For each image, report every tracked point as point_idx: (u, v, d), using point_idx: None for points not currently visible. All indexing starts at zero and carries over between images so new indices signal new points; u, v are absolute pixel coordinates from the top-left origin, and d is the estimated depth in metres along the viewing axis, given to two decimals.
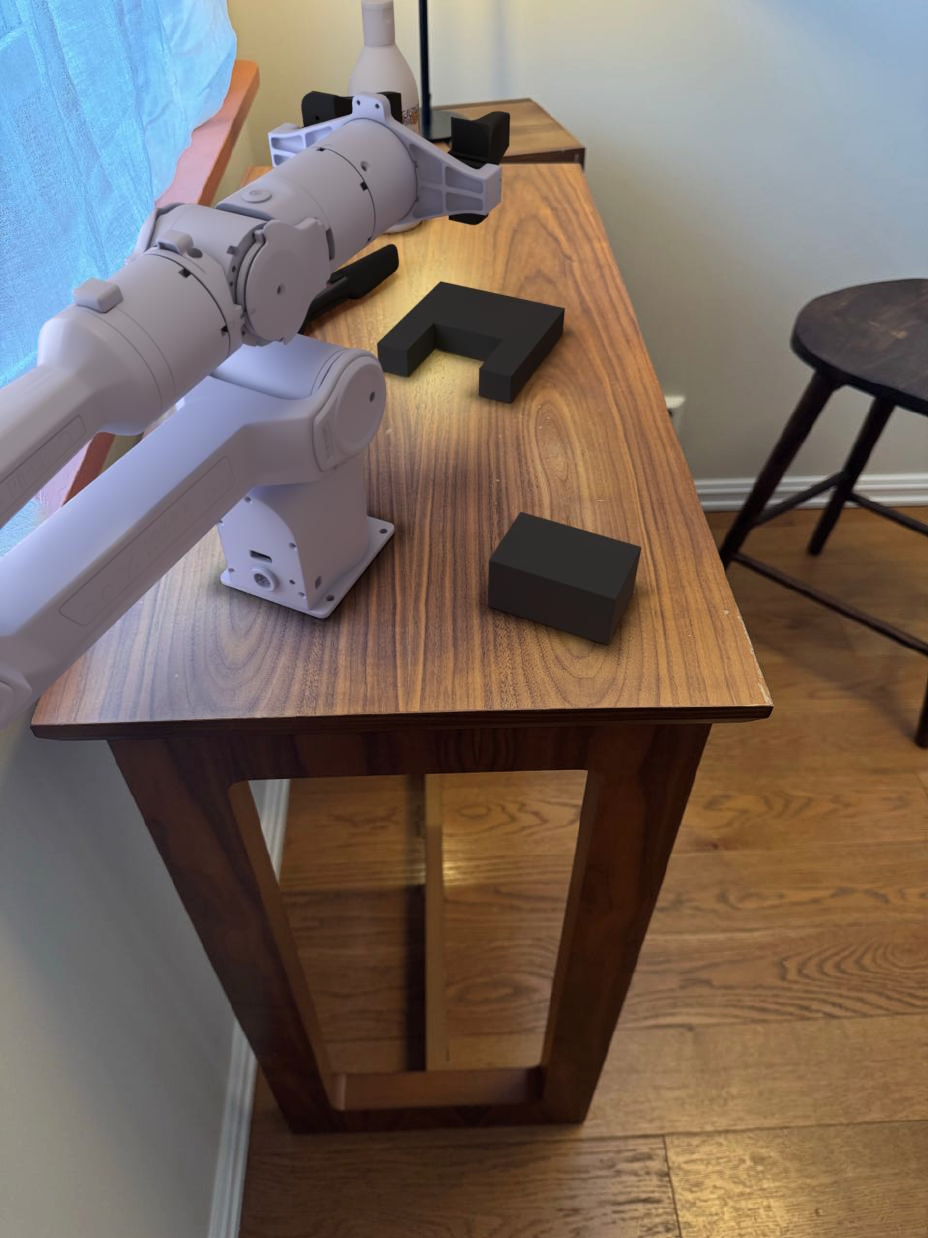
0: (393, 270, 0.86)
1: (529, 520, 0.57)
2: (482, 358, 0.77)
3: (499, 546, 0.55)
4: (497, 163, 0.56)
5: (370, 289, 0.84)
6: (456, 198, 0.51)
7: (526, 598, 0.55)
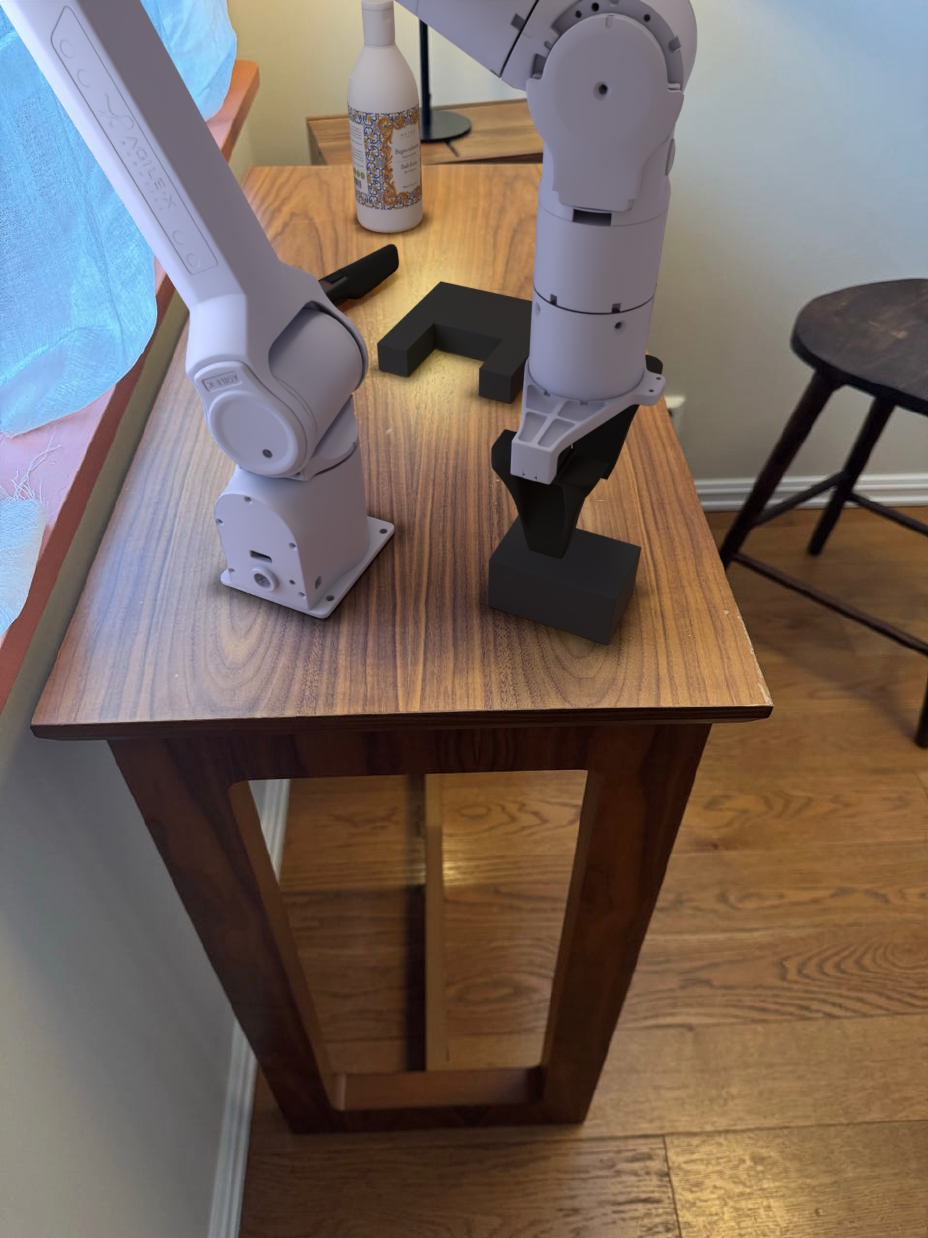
0: (393, 270, 0.86)
1: None
2: (482, 358, 0.77)
3: (499, 546, 0.55)
4: (524, 521, 0.48)
5: (370, 289, 0.84)
6: (535, 426, 0.43)
7: (526, 598, 0.55)
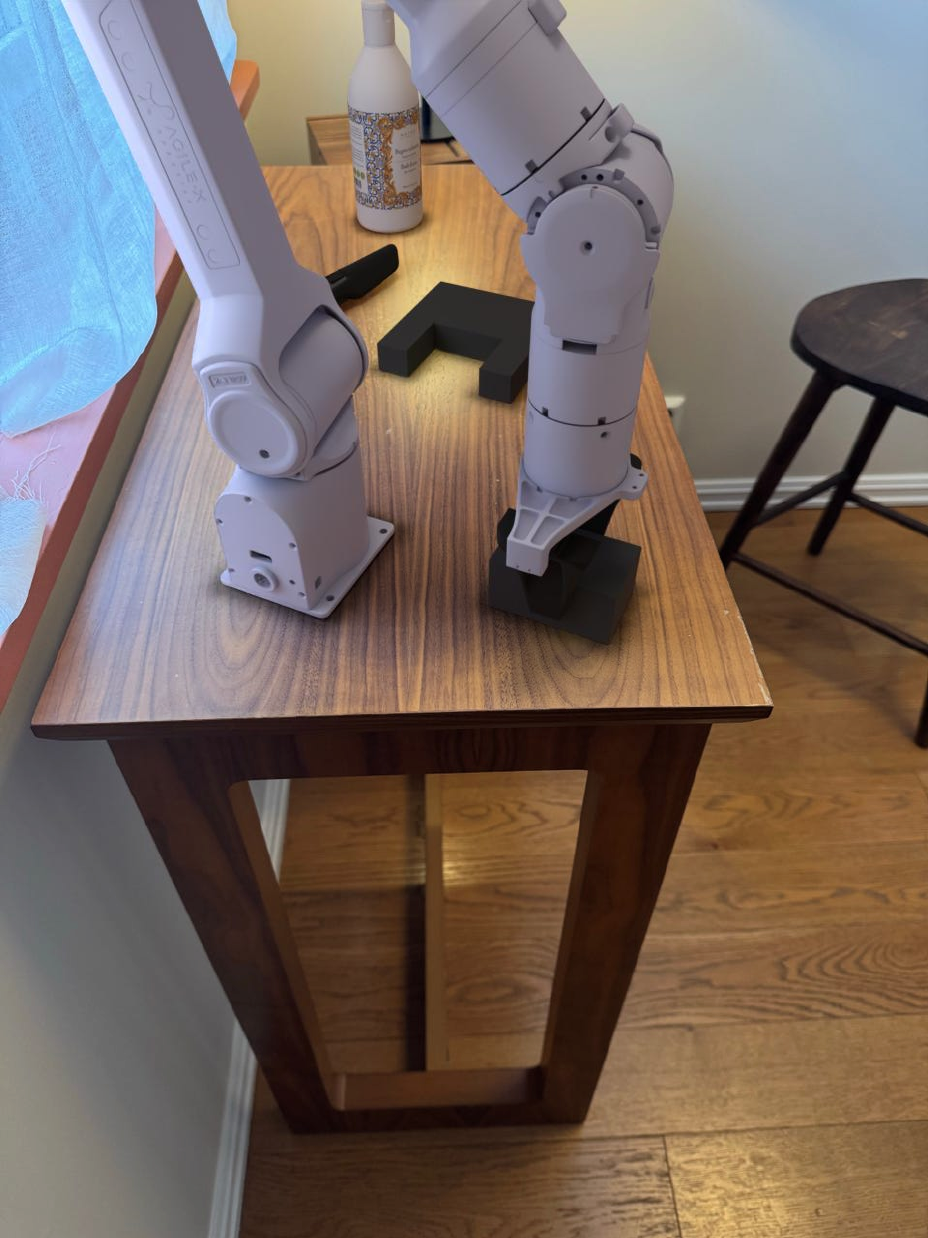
0: (393, 270, 0.86)
1: None
2: (482, 358, 0.77)
3: None
4: (526, 587, 0.53)
5: (370, 289, 0.84)
6: (528, 522, 0.47)
7: None
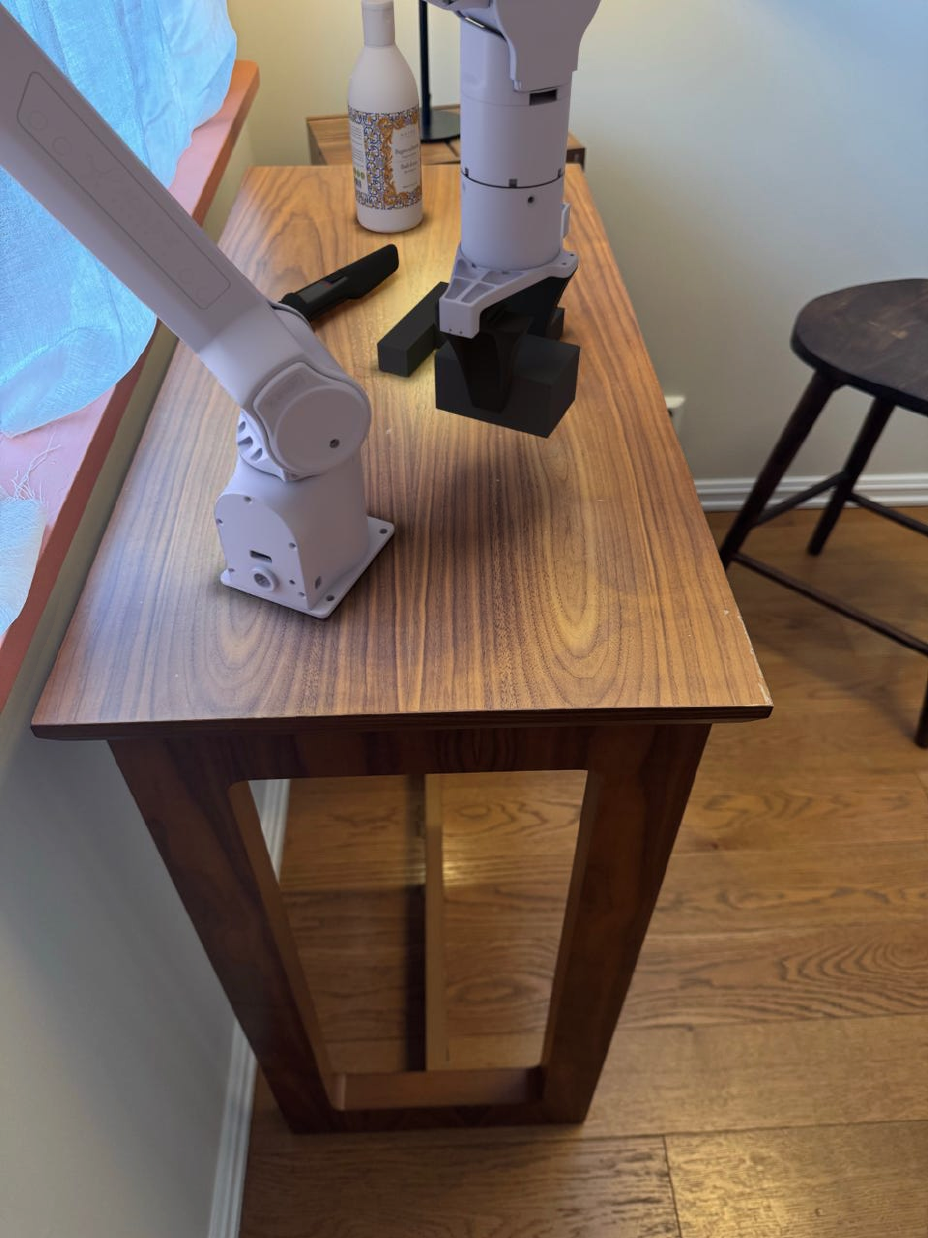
0: (393, 270, 0.86)
1: None
2: None
3: (445, 344, 0.58)
4: (467, 377, 0.56)
5: (370, 289, 0.84)
6: (461, 290, 0.50)
7: None
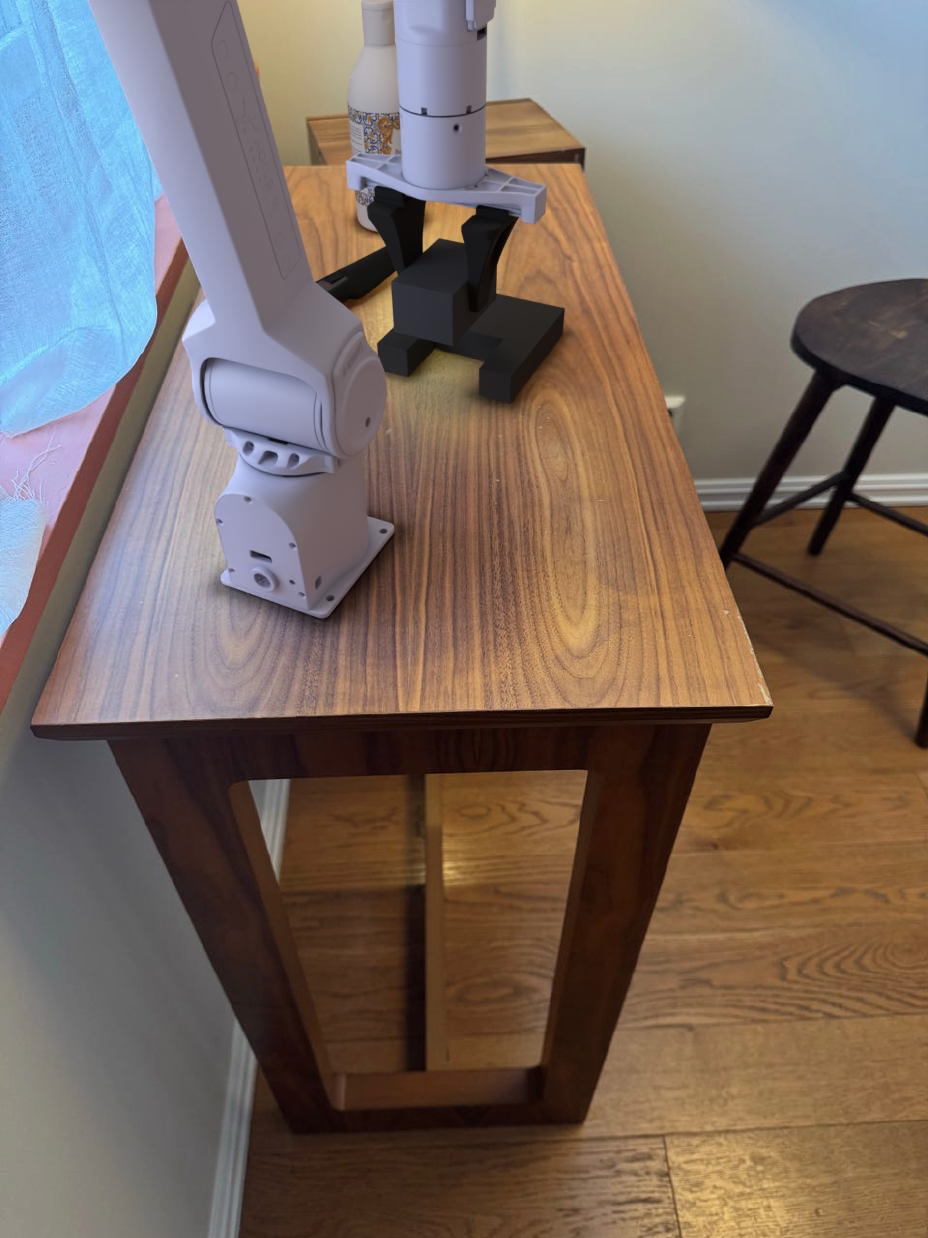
0: (393, 270, 0.86)
1: (403, 278, 0.66)
2: (482, 358, 0.77)
3: (436, 290, 0.65)
4: (480, 286, 0.66)
5: (370, 289, 0.84)
6: None
7: (467, 308, 0.68)
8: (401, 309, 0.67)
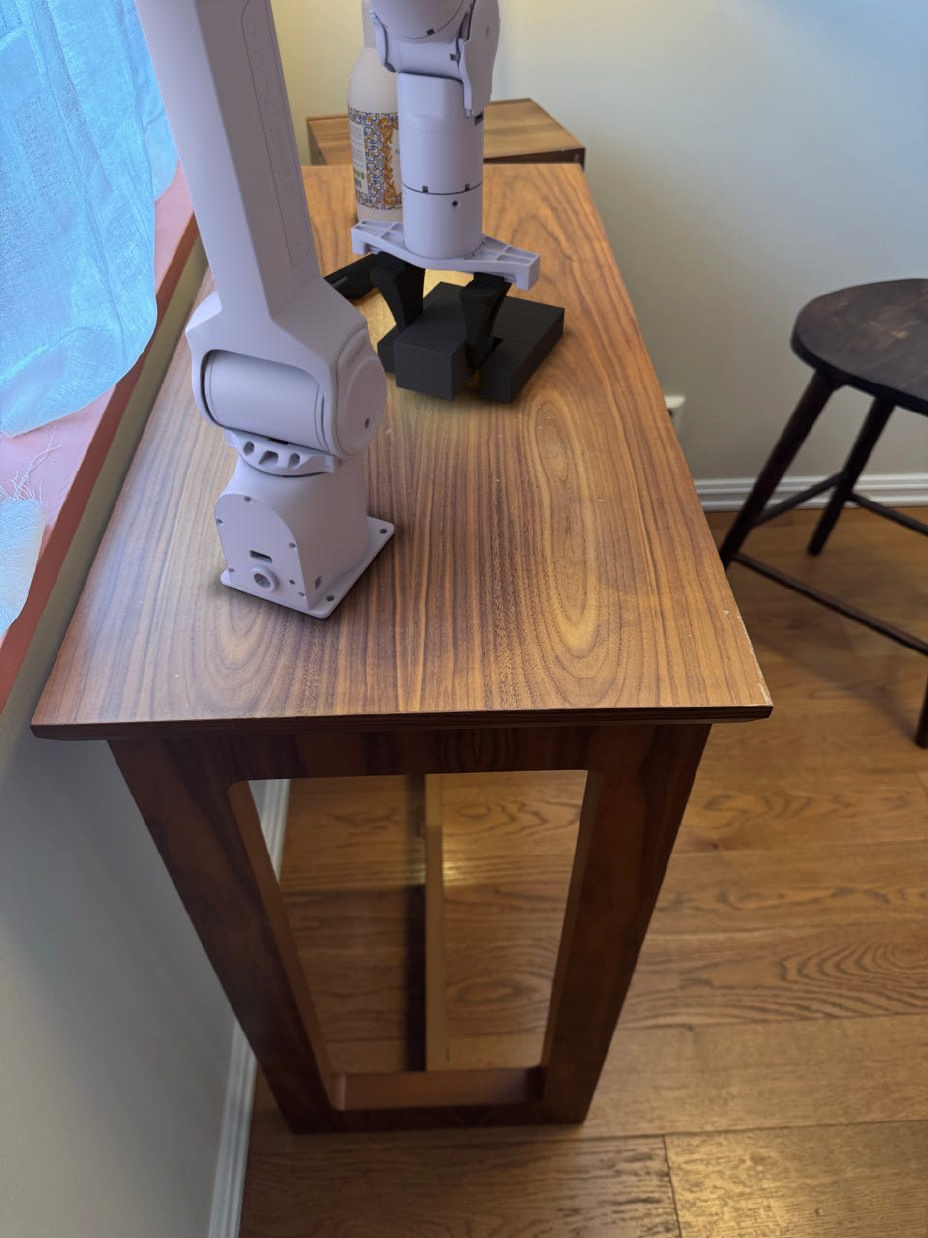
0: None
1: (405, 337, 0.70)
2: None
3: (436, 350, 0.69)
4: (478, 345, 0.70)
5: (370, 289, 0.84)
6: None
7: (465, 365, 0.71)
8: (402, 366, 0.71)
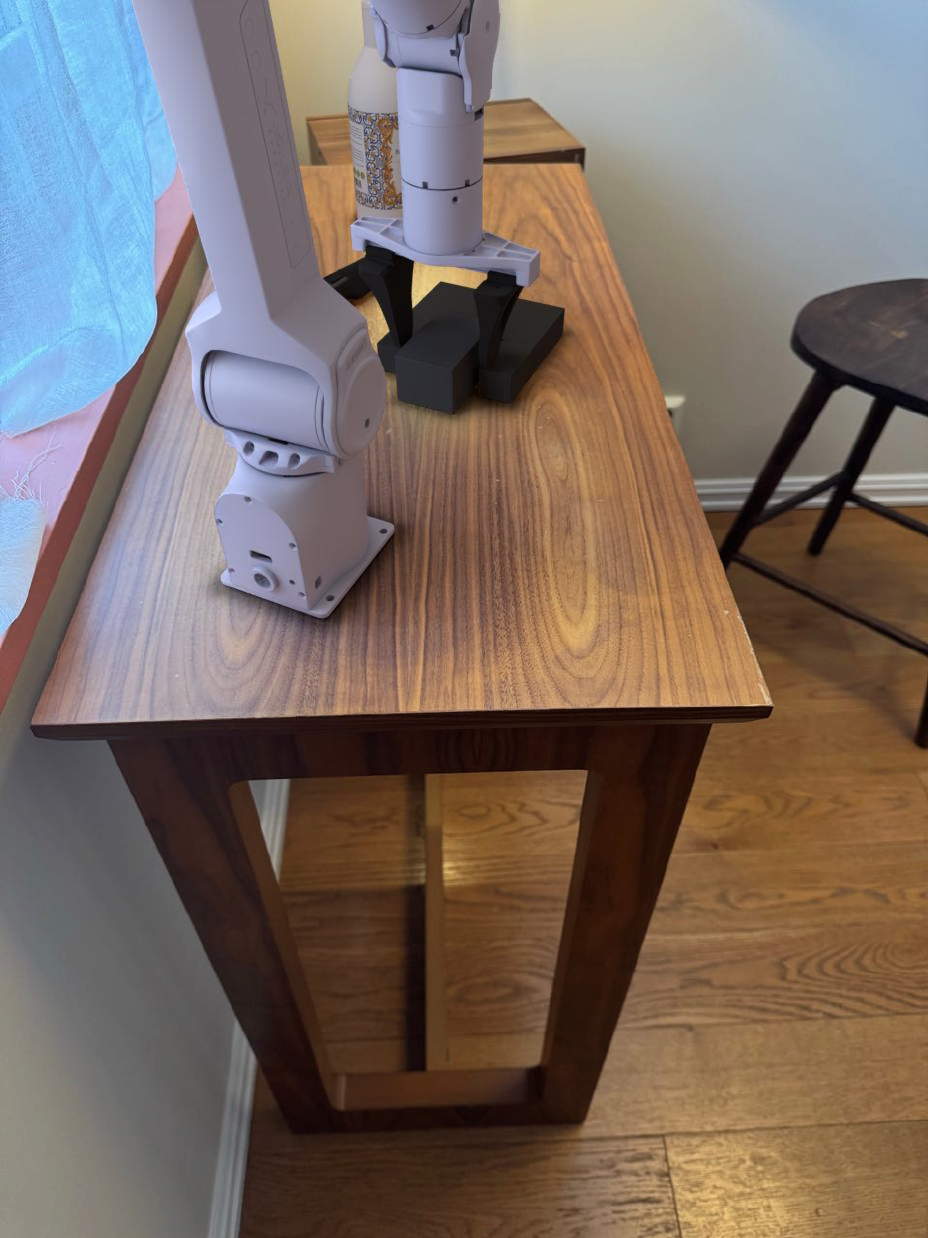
0: None
1: (406, 351, 0.71)
2: None
3: (437, 365, 0.70)
4: (491, 344, 0.69)
5: None
6: None
7: (466, 379, 0.72)
8: (404, 380, 0.72)
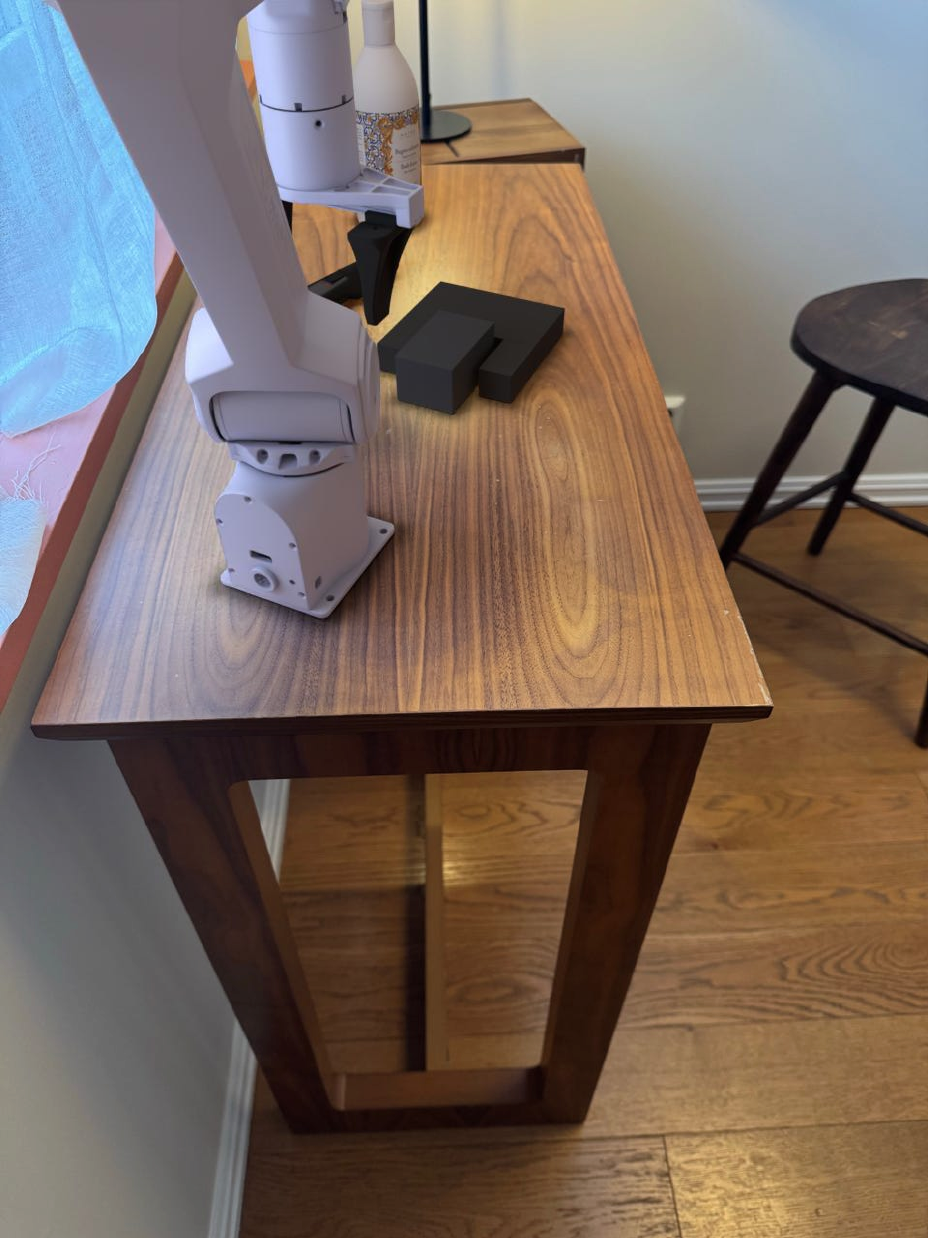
0: None
1: (406, 351, 0.71)
2: None
3: (437, 365, 0.70)
4: (376, 297, 0.61)
5: None
6: None
7: (466, 379, 0.72)
8: (404, 380, 0.72)
